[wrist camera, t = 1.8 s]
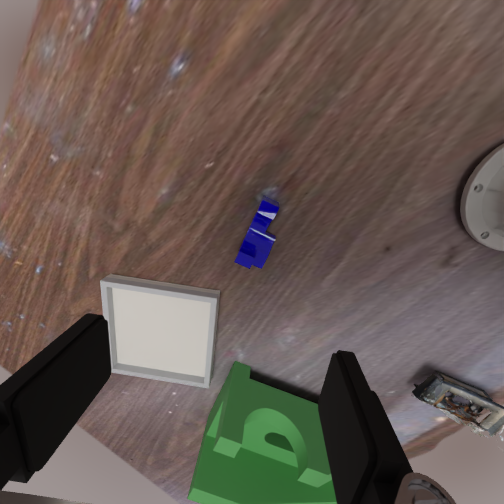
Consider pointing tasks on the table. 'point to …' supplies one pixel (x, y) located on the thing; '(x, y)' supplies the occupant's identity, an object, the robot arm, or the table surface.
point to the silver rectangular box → (491, 423)
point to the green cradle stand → (261, 448)
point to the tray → (161, 329)
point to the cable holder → (258, 236)
